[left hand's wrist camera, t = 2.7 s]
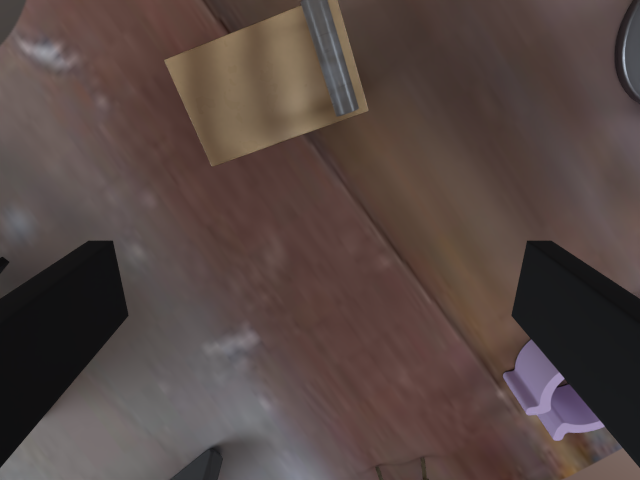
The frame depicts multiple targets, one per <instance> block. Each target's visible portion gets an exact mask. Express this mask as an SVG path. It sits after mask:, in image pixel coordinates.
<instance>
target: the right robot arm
mask: <svg viewBox="0 0 640 480" xmlns="http://www.w3.org/2000/svg"><path fill="white" fill-rule="evenodd" d="M8 263H9V261H8V260H6V259H5V258H4V257H1V258H0V273H1V272H2V271H3V270H4V268H5V267H6V266H7V265H8Z"/></svg>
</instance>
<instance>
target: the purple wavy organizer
mask: <svg viewBox="0 0 640 480" xmlns="http://www.w3.org/2000/svg"><path fill="white" fill-rule="evenodd" d="M503 378H504V380H505V381H506V383H507V384H508V386H509V387H510V389H511V390H512V392H513V394H514V395H515V397H516V398H517V400H518V401H519V403H520V404H521V406H522V408H523V409H524V411H525V412H526V414H527V415H537V416H538V417H539V419H540V420H541V422H542V423H543V425H544V426H545V428H546V429H547V431H548V432H549V434H550V435H551V437H552V438H553V440H556V441H559V440H562V439H563V437H564V435H565V434H566V433H567V432H573V433H580V432H588V431H593V430H596V429H599V428H602V427H605V426H604V425H603V424H602V422H601V421H600V420H599V419H598V418H597V416H596V415H595V414H594V413H593V412H592V411H591V409H590V408H589V407H588V406H587V405H586V403H585V402H584V401H583V400H582V399H581V397H580V396H579V395H578V394H577V393H576V392H575V390H574V389H573V388H572V387H571V386H570V384H568V385H566V386H562V387H558V388H556V387H557V386H558V385H559V384H560V383H561V382H562V381H563V380H564V377H563V376H562V375H561V374H560V373H559V371H558V370H557V369H556V368H555V367H554V365H553V364H552V363H551V362H550V361H549V360H548V358H547V357H546V356H545V355H544V354H543V352H542V351H541V350H540V349H539V348H538V346H537V345H536V344H535V343H534V342H533V341H532V339H531V340H530V341H529V342H528V343H527V344H526V345H525V346H524V347H523V348H522V350H521V351H520V353H519V355H518V357H517V360H516V364H515V369H514V370H513V371H510V372H505V373H504V374H503Z"/></svg>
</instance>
